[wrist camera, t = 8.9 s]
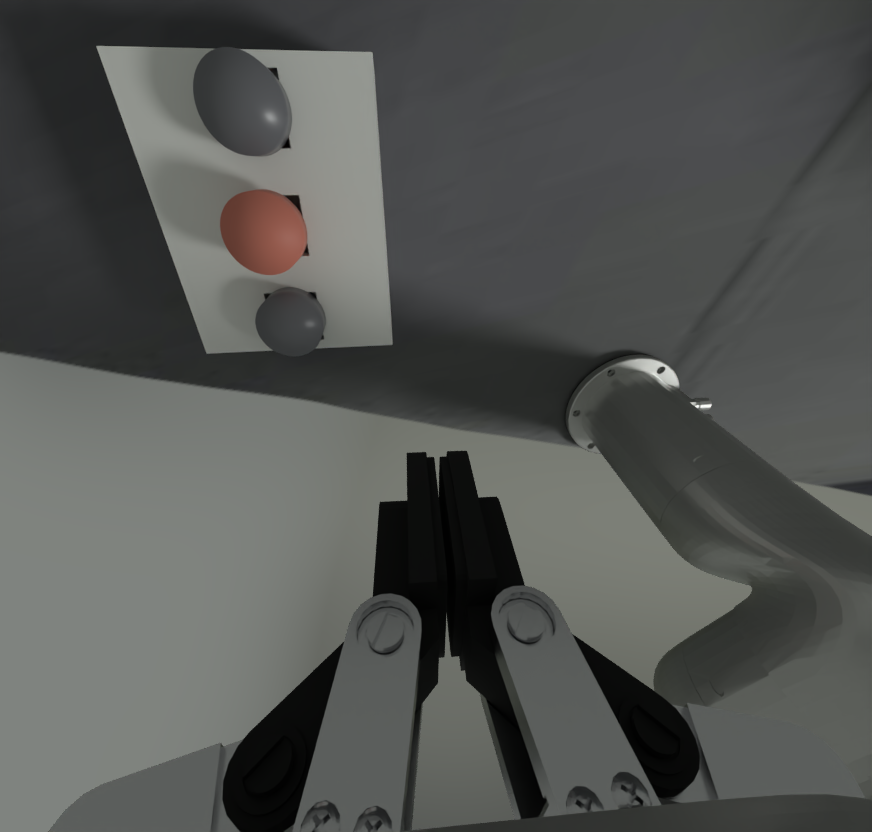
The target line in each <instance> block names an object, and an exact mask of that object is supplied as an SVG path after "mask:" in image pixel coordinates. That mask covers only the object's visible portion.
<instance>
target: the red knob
mask: <svg viewBox="0 0 872 832" xmlns="http://www.w3.org/2000/svg"><path fill="white" fill-rule="evenodd" d="M220 231H221V235H222V238H223V241H224V244H225V246H226V248H227V249H228V251H229V252H230V254H231V255H232V256H233V257H234V258H235V260H236V261H237V262H239V263H240V264H241V265H242V266H244V267H245V268H247V269H249V270H250V271H253V272H255V273H258V274H263V275H277V274H281V273H283V272H285V271H287V270H289V269H290V268H291V267H292V266H293V265H294V264H295V263H296V262H297V261H298V260H299V259H300V257H301V256H302V255H303V253H304V251H305V249H306V245H307V228H306V224H305V221H304V219H303V217H302V215H301V213H300V211H299V210H298V209H297V207H296V206H295V205H294V204H293V203H292V202H291V201H290V200H289V199H287V198H286V197H285V196H283V195H281V194H279V193H277V192H275V191H272V190H267V189H257V190H251V191H246V192H242V193H239V194H237V195H235V196H234V197H232V198H231V199H230V200H229V201H228V202H227V203H226V205H225V206H224V208H223V210H222V213H221V218H220Z"/></svg>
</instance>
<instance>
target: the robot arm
mask: <svg viewBox="0 0 872 832" xmlns="http://www.w3.org/2000/svg"><path fill="white" fill-rule="evenodd" d="M710 408H711V401H710V399H709V398H695V399H691V398H689V397H688V396H687V395H685V394H684V393H683V392H681V391H680V384H679V380H678V377H677V375H676V373H675V372H674V370H673V369H672V368H671V367H670V366H669V365H668V364H666V363H665V362H663V361H662V360H660V359H658V358H655V357H653V356H648V355H642V354H640V355H628V356H624V357H619V358H617V359H614V360H612V361H609V362H607V363H605V364H603V365H602V366H600V367H598V368H597V369H595V370H594V371H593V372H592V373H590V374H589V375H588V376H587V377H586V378H585V379H584V380H583V381H582V382H581V383H580V384H579V385H578V387H577V388H576V390H575V391H574V393H573V394H572V396H571V398H570V400H569V403H568V406H567V410H566V426H567V429H568V431H569V434H570V436H571V437H572V438H573V440H574V441H575V442H576V443H577V444H578V445H579V446H580V447H581V448H583V449H585V450H587V451H590V452H594V453H599V454H602V455H603V456H604V458H605V459H606V460H607V462H608V463H609V464H610V466H611V467H612V468H613V470H614V471H615V472H616V473H617V475H618V476H619V478H620V479H621V480H622V482H623V483H624V484H625V486H626V487H627V488H628V490H629V491H630V492H631V494H632V495H633V496H634V498H635V499H636V500H637V502H638V503H639V504H640V506H641V507H642V508H643V510H644V511H645V512H646V514H647V515H648V516H649V518H650V519H651V520H652V522H653V523H654V524H655V525H656V527H657V528H658V529H659V531H660V532H661V533H662V535H663V536H664V537H665V539H666V540H667V541H668V542H669V544H670V545H671V546H672V548H673V549H674V550H675V551H676V552H677V553H678V554H679V555H680V556H681V557H682V558H683V559H684V560H686V561H687V562H689V563H690V564H691V565H693V566H694V567H696V568H698V569H700V570H702V571H704V572H707V573H709V574H712V575H715V576H718V577H721V578H724V579H728V580H731V581H735V582H738V583H742V584H746V585H750V586H751V587H752V592H751V594H750V595H749V596H748V597H747V598H746V599H745V600H743V601H742V602H741V603H739V604H738V605H736V606H735V607H734V609H733V610H731V611H729V612H728V613H726V614H725V615H723V616H722V617H720V618H718V619H717V620H715V621H713V622H712V623H710V624H709V625H707V626H705V627H704V628H702V629H701V630H699V631H697V632H696V633H694V634H693V635H691V636H689V637H688V638H687V639H685V640H684V641H682V642H680V643H679V644H677V645H676V646H675V647H673V648H672V649H671V650H669V651H668V652H667V653H666V654H665V655H664V656H663V657H662V659H661V660H660V661H659V663H658V665H657V667H656V669H655V673H654V681H653V682H654V691H653V690H652V689H650V688H649V687H648V686H646V685H644V684H643V683H642V682H640V681H639V680H638V679H636V678H635V677H633V676H632V675H630V674H629V673H627V672H626V671H625V670H623V669H622V668H620V667H619V666H617V665H616V664H615V663H613V662H612V661H610V660H609V659H607V658H606V657H604V656H603V655H602V654H600V653H599V652H597V651H596V650H595V649H593V648H591V647H590V646H589V645H587V644H586V643H584V642H583V641H581V640H580V639H579V638H577V637H576V636H574V635H573V634H572V633H571V631H570V629H569V627H568V625H567V623H566V621H565V620H564V618H563V616H562V614H561V612H560V610H559V609H558V607H557V606H556V604H555V603H554V602H553V600H552V599H550V598H549V597H548V596H547V595H546V594H545V593H543V592H541V591H539V590H537V589H535V588H532V587H528V586H525V585H524V581H523V578H522V575H521V571H520V568H519V565H518V561H517V559H516V555H515V552H514V548H513V545H512V541H511V538H510V535H509V532H508V528H507V525H506V522H505V518H504V515H503V511H502V508H501V505H500V502H499V499H498V498H497V497H483V498H482V497H481V498H478V494H477V490H476V486H475V482H474V477H473V473H472V469H471V465H470V461H469V456H468V453H467V451H448V452H447V457H440V465H439V467H440V469H439V496H438V488H437V479H436V471H435V461H434V457H427V456H426V452H420V453H418V452H417V453H407V497H408V499H407V501H391V502H380V505H379V518H378V531H377V545H376V560H375V573H374V587H373V597H372V598H370V599H368V600H367V601H365V602H364V603H363V604H361V605H360V606H359V608H358V609H357V610H356V611H355V613H354V614H353V616H352V619H351V621H350V623H349V626H348V630H347V633H346V637H345V641H344V642H343V643H342V644H341V645H340V646H339V647H338V648H337V649H336V650H335V651H334V652H333V653H332V654H331V655H330V656H329V657H327V659H325V660H324V661H323V662H322V663H321V664H320V665H319V666H318V667H317V668H316V669H315V670H314V671H313V672H312V673H311V674H310V675H309V676H308V677H307V678H306V679H305V680H303V682H301V683H300V685H298V686H297V687H296V688H295V689H294V690H293V691H292V692H291V693H290V694H289V695H288V696H287V697H286V698H285V699H284V700H283V701H282V702H280V704H278V705H277V706H276V707H275V708H274V709H273V710H272V711H271V712H270V713H269V714H268V715H267V716H266V717H265V718H264V719H263V720H262V721H261V722H260V723H259V724H258V725H256V726H255V727H254V728H253V729H252V730H251V731H250V732H249V733H248V735H247V736H246V737H245V738H244V739H243V740H240V741H238V742H235V743H232V744H229V745H226V746H224V747H223V745H222V744H221V743H219V744H216V745H213V746H210V747H207V748H204V749H201V750H199V751H196V752H193V753H190V754H188V755H184V756H182V757H179V758H176V759H173V760H170V761H167V762H165V763H162V764H159V765H156V766H153V767H151V768H147V769H144V770H142V771H139V772H136V773H133V774H130V775H128V776H125V777H122V778H119V779H116V780H113V781H110V782H107V783H105V784H102V785H100V786H98V787H96V788H94V789H92V790H90V791H89V792H87V793H85V794H83V795H82V796H81V797H80V798H79V799H78V800H76V801H75V802H74V803H73V804H72V805H71V806H70V807H68V808H67V809H66V810H65V811H64V812H63V813H62V815H61V816H60V817H59V819H58V820H57V821H56V823H55V824H54V825H53V826H52V827H51V829H50V830H49V831H48V832H872V536H870V535H869V534H867V533H865V532H864V531H862V530H861V529H859V528H858V527H856V526H855V525H853V524H851V523H850V522H848V521H847V520H845V519H844V518H842V517H841V516H839V515H838V514H837V513H835V512H834V511H832V510H831V509H830V508H828V507H827V506H825V505H824V504H823V503H821V502H820V501H819V500H817V499H816V498H814V497H813V496H812V495H810V494H809V493H807V492H806V491H805V490H803V489H802V488H801V487H799V486H798V485H797V484H795V483H794V482H793V481H791V480H790V479H789V478H787V477H786V476H785V475H783V474H782V473H781V472H780V471H778V470H777V469H776V468H774V467H773V466H772V465H770V464H769V463H768V462H766V461H765V460H764V459H763V458H761V457H760V456H759V455H757V454H756V453H755V452H754V451H752V450H751V449H750V448H748V447H747V446H746V445H744V444H743V443H742V442H741V441H739V440H738V439H737V438H735V437H734V436H733V435H732V434H730V433H729V432H728V431H726V430H725V429H724V428H722V427H721V426H720V425H719V424H717V423H716V422H715V421H714V418H713V417H712V416H711V415H709V414H704V413H703V412H702V411H705V410H709V409H710ZM446 612H447V621H448V632H449V642H450V651H451V656H452V657H454V656H459V658H460V666H461V671H462V670H465V673H466V680H467V682H469V683H470V684H471V685H472V686H473V687H474V688H475V689H476V690H477V691H478V692H479V693H480V696H481V702H482V705H483V709H484V712H485V716H486V720H487V723H488V727H489V730H490V734H491V737H492V740H493V744H494V747H495V751H496V755H497V758H498V762H499V766H500V769H501V773H502V776H503V780H504V783H505V787H506V790H507V794H508V797H509V801H510V805H511V808H512V812H513V815H514V819H515V820H508V821H499V822H489V823H480V824H470V825H460V826H451V827H441V828H432V829H422V830H413V831H412V819H413V809H414V798H415V787H416V775H417V763H418V753H419V741H420V730H421V720H422V708H423V702H424V700H425V699H426V698H427V696H428V695H429V694H430V693H431V691H432V690H433V689H434V687H435V686H436V685H437V683H438V663H439V658H441V657H444V655H445V632H446Z"/></svg>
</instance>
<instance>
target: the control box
mask: <svg viewBox="0 0 872 832" xmlns="http://www.w3.org/2000/svg"><path fill="white" fill-rule="evenodd" d="M96 47H97V50H98V53H99V55H100V58H101V61H102V64H103V66H104V69H105V72H106V75H107V78H108V80H109V83H110V86H111V89H112V92H113V94H114V97H115V100H116V103H117V105H118V108H119V111H120V114H121V117H122V119H123V122H124V125H125V128H126V131H127V133H128V136H129V139H130V142H131V144H132V147H133V150H134V153H135V156H136V158H137V161H138V164H139V167H140V170H141V172H142V175H143V178H144V181H145V183H146V186H147V189H148V192H149V195H150V197H151V200H152V203H153V206H154V209H155V211H156V214H157V217H158V220H159V222H160V225H161V228H162V231H163V234H164V236H165V239H166V242H167V245H168V248H169V250H170V253H171V256H172V259H173V261H174V264H175V267H176V270H177V273H178V275H179V278H180V281H181V284H182V287H183V289H184V292H185V295H186V298H187V300H188V303H189V306H190V309H191V312H192V314H193V317H194V320H195V323H196V326H197V328H198V331H199V334H200V337H201V339H202V342H203V345H204V348H205V351H206V353H207V354H209V353H231V352H252V351H273V350H272V349H270V348H269V347H268V346H267V345H266V344H265V343H264V342H263V341H262V339H261V338H260V336H259V334H258V332H257V329H256V324H255V318H256V313H257V311H258V309H259V307H260V306H261V304H262V303H263V302H264V301H265V300H266V299H267V298H268V296H269V295H270V294H271V293H273V292H274V291H276V290H278V289H280V288H285V287H294V288H299V289H302V290H304V291H306V292H312V293H313V294H314V295H315V296H316V298H317V300H318V301H319V303H320V304H321V306H322V308H323V310H324V313H325V317H326V325H325V329H324V332H323V335H322V337H321V340H320V342H319V344H318V346H317V347H316V348H336V347H358V346H379V345H393V340H392V319H391V305H390V290H389V276H388V261H387V247H386V232H385V218H384V203H383V189H382V174H381V160H380V145H379V131H378V116H377V101H376V87H375V73H374V63H373V54H372V52H340V51H297V50H254V49H240V50H243V51H245V52H247V53H249V54H250V55H252V56H253V57H255V58H256V59H257V60H259V61H260V62H261V63H262V64H263V65H265V66H266V67H267V68H268V69H269V70H270V71H271V72H272V73H273V74H274V75H275V76H276V77H277V78H278V80H279V81H280V83H281V84H282V86H283V88H284V90H285V92H286V94H287V96H288V99H289V102H290V106H291V112H292V127H291V132H290V135H289V138H288V140H287V142H286V143H285V145H284V146H283V147H282V148H281V149H280V150H279V151H278V152H276V153H274V154H272V155H269V156H263V157H259V156H246V155H241V154H238V153H235V152H233V151H231V150H229V149H227V148H226V147H224V146H223V145H222V144H221V143H219V142H218V141H217V140H216V139H215V138H214V137H213V136H212V135H211V133H210V132H209V131H208V130H207V128H206V127H205V125H204V123H203V122H202V120H201V118H200V116H199V113H198V111H197V108H196V105H195V100H194V94H193V79H194V74H195V70H196V68H197V65H198V63H199V62H200V60H201V59H202V58H203V57H204V56H205V54H207V53H208V52H210V51H211V50H214V49H211V48H168V47H125V46H96ZM257 189H267V190H272V191H275V192H277V193H279V194H281V195H283V196H285V197H286V198H287V199H289V200H290V201H291V202H292V203H293V204H294V205H295V206H296V207H297V209H298V210H299V211H300V213H301V215H302V217H303V219H304V221H305V224H306V228H307V245H306V249H305V251H304V253H303V255H302V256H301V257H300V259H299V260H298V261H297V262H296V263H295V264H294V265H293V266H292V267H291V268H290V269H289V270H287V271H285V272H283V273H281V274H277V275H263V274H258V273H255V272H253V271H250V270H249V269H247V268H245V267H244V266H242V265H241V264H240V263H239V262H237V261H236V260H235V258H234V257H233V256H232V255H231V254H230V252H229V251H228V249H227V248H226V246H225V244H224V241H223V238H222V235H221V231H220V218H221V213H222V210H223V208H224V206H225V205H226V203H227V202H228V201H229V200H230V199H231V198H232V197H234V196H235V195H237V194H239V193H242V192H246V191H251V190H257Z"/></svg>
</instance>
